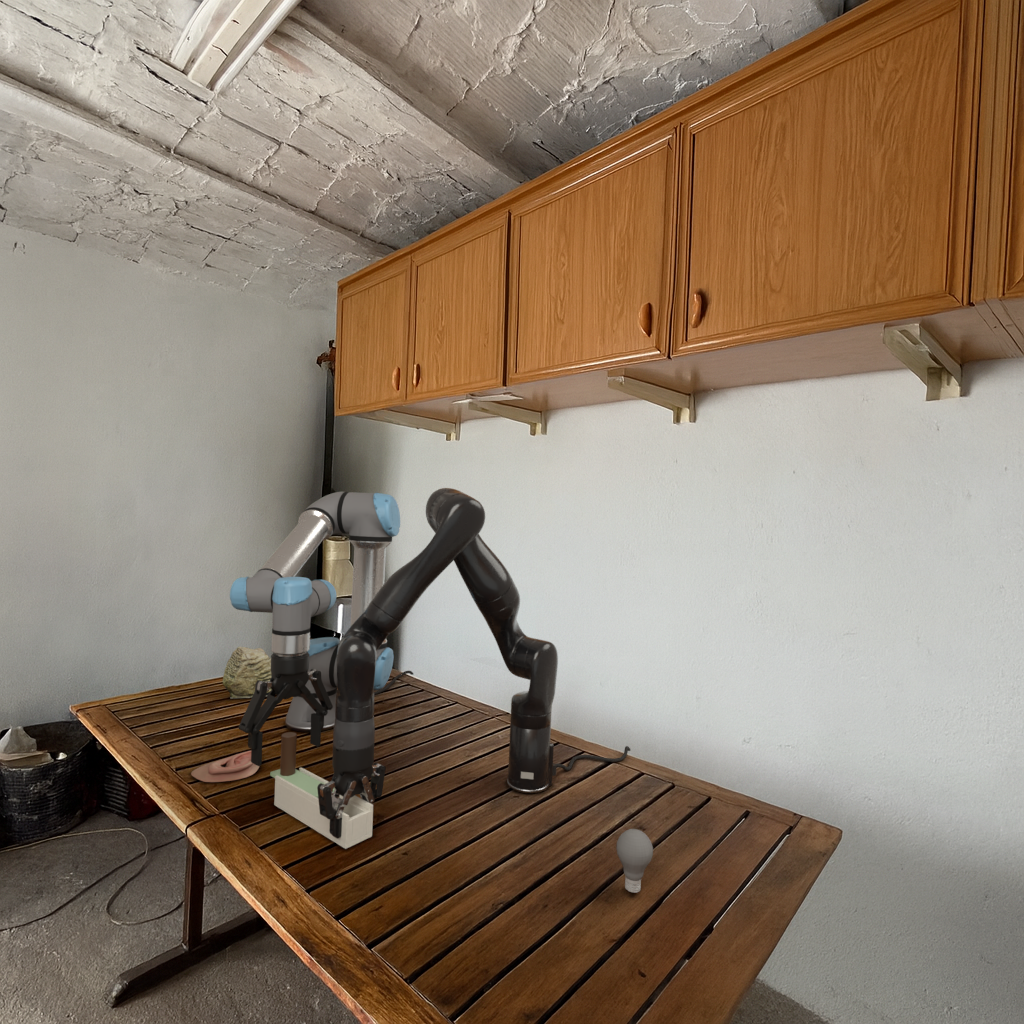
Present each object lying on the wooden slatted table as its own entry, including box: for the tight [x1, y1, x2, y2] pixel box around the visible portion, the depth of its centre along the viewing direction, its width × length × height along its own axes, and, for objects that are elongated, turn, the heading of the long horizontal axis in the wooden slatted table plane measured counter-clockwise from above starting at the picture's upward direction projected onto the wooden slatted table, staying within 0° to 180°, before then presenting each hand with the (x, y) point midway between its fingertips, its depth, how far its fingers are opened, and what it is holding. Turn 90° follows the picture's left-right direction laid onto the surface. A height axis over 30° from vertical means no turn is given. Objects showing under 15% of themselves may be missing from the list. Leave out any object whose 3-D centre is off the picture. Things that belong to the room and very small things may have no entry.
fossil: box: [222, 646, 272, 699], centre depth 198 cm, size 9×18×15 cm, turn 132°
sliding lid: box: [269, 731, 335, 798], centre depth 128 cm, size 16×4×9 cm, turn 52°
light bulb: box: [615, 828, 654, 894], centre depth 106 cm, size 6×6×10 cm
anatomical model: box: [190, 750, 260, 783], centre depth 143 cm, size 13×4×12 cm
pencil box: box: [273, 767, 374, 850], centre depth 124 cm, size 24×6×6 cm, turn 51°
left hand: (286, 753), depth 132 cm, fingers open, 13 cm apart
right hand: (351, 829), depth 118 cm, fingers closed on pencil box, 6 cm apart
